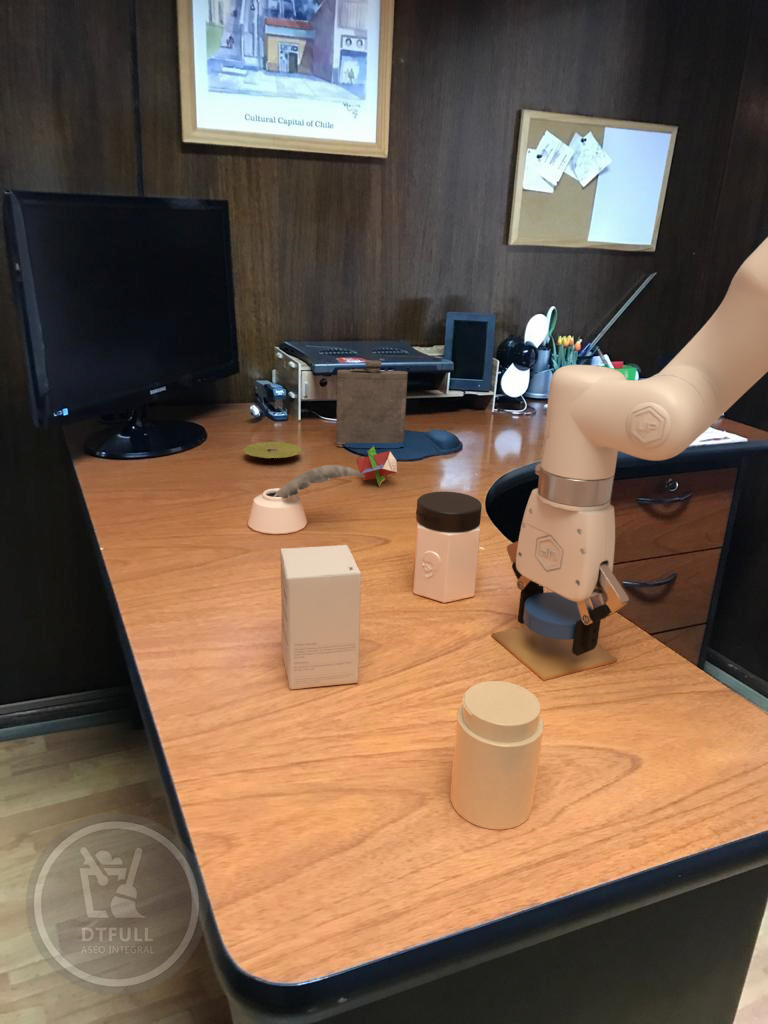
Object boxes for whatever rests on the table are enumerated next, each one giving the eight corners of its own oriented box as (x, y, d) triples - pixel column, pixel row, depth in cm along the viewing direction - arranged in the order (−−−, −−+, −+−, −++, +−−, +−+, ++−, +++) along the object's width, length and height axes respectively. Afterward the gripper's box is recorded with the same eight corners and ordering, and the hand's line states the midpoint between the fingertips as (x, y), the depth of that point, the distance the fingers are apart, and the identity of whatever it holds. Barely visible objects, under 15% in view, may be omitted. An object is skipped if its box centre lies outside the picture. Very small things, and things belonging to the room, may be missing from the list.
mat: (312, 456, 154) (312, 447, 153) (279, 470, 144) (279, 460, 144) (265, 447, 159) (265, 438, 158) (231, 460, 149) (231, 451, 148)
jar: (397, 590, 100) (402, 503, 95) (427, 568, 106) (433, 486, 102) (459, 609, 95) (467, 519, 91) (487, 585, 102) (495, 500, 98)
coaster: (560, 620, 94) (560, 618, 94) (617, 661, 85) (617, 658, 85) (491, 636, 90) (491, 633, 89) (543, 680, 81) (543, 677, 81)
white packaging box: (347, 647, 86) (349, 543, 81) (359, 685, 79) (363, 572, 75) (280, 653, 84) (279, 546, 80) (286, 691, 77) (286, 577, 73)
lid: (549, 645, 82) (551, 630, 81) (509, 614, 88) (510, 599, 87) (605, 631, 85) (607, 616, 84) (562, 602, 91) (564, 587, 90)
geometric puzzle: (342, 473, 138) (369, 441, 134) (354, 462, 144) (380, 432, 140) (372, 500, 138) (400, 469, 134) (382, 488, 144) (409, 458, 141)
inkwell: (251, 512, 124) (250, 452, 120) (363, 515, 124) (365, 456, 121) (243, 534, 115) (241, 470, 111) (364, 537, 116) (366, 474, 112)
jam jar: (502, 764, 68) (513, 670, 65) (549, 815, 63) (564, 715, 59) (435, 784, 65) (443, 688, 62) (478, 840, 60) (489, 737, 56)
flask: (405, 449, 162) (409, 363, 155) (336, 448, 160) (338, 361, 153) (402, 444, 165) (407, 360, 159) (335, 444, 163) (337, 358, 157)
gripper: (491, 469, 85) (478, 612, 91) (619, 519, 72) (594, 681, 78) (538, 460, 89) (523, 597, 95) (668, 505, 76) (640, 660, 82)
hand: (555, 634), depth 87 cm, fingers closed on lid, 7 cm apart
